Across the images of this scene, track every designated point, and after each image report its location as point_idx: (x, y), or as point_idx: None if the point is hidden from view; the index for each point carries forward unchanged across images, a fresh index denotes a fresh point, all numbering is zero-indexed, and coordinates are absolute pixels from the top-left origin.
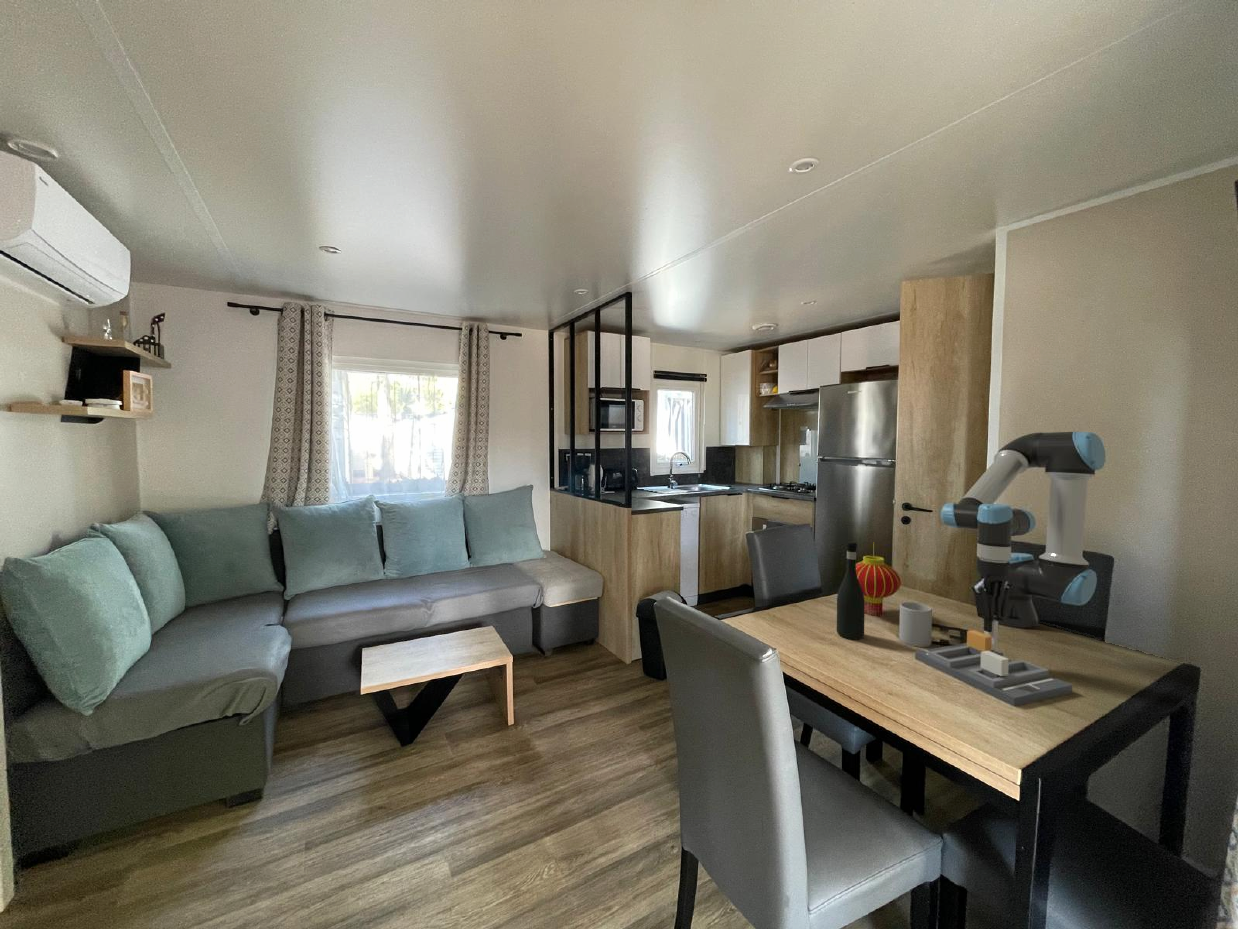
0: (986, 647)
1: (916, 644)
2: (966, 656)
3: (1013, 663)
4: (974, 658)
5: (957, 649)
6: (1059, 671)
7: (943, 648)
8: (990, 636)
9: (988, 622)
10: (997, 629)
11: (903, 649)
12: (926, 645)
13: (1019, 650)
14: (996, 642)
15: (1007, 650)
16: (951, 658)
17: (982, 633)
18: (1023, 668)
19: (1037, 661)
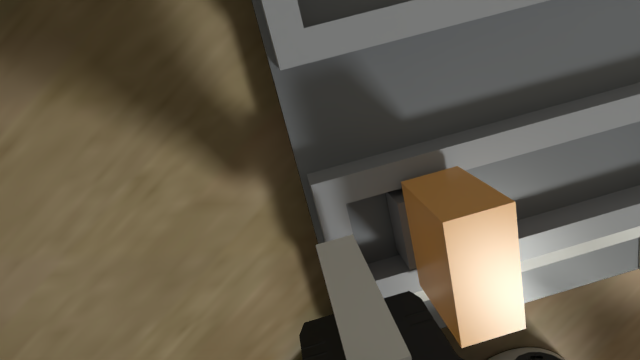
0: (459, 179)
1: (559, 358)
2: (591, 133)
3: (393, 10)
4: (556, 114)
5: (550, 229)
6: (12, 64)
7: (535, 286)
8: (445, 230)
9: (455, 355)
10: (339, 310)
11: (629, 322)
12: (518, 353)
13: (51, 331)
14: (329, 247)
15: (125, 328)
16: (605, 170)
17: (456, 286)
18: (307, 17)
19: (51, 199)
